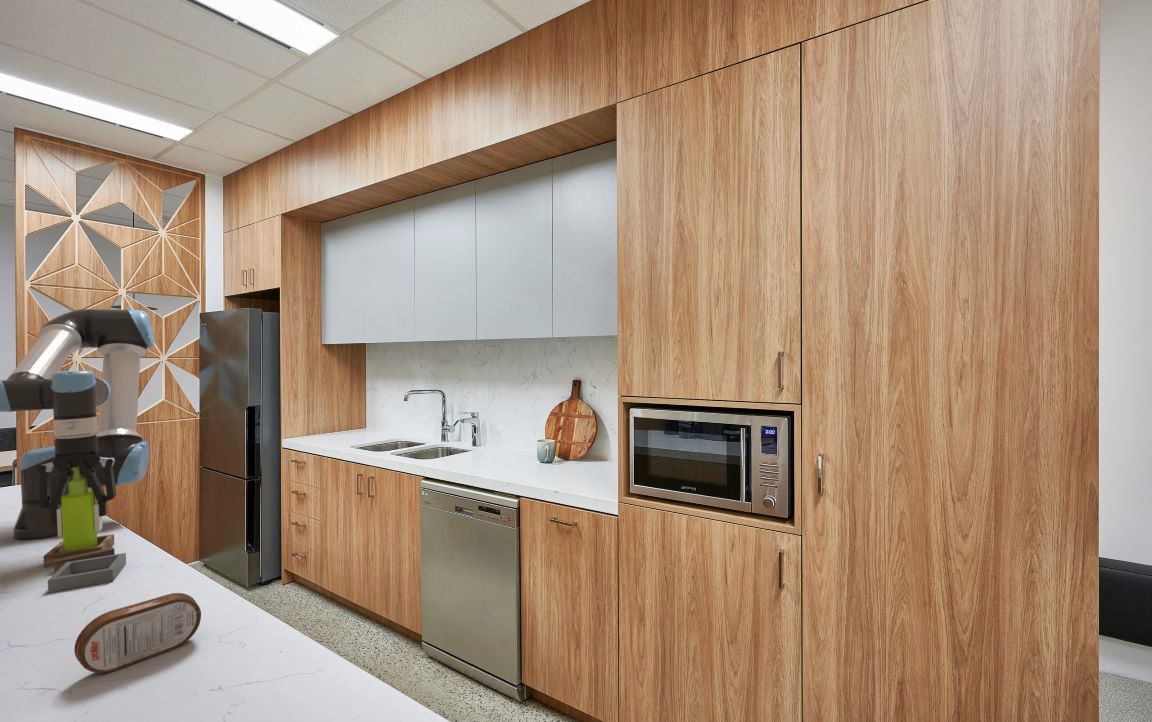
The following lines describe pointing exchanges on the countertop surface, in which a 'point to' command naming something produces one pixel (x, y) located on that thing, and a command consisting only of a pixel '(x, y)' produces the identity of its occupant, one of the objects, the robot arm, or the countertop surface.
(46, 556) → the walnut holder
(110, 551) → the door edge rail
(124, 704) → the countertop surface
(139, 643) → the tin
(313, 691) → the countertop surface
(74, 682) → the countertop surface
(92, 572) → the keeper frame
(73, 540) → the soap dispenser
